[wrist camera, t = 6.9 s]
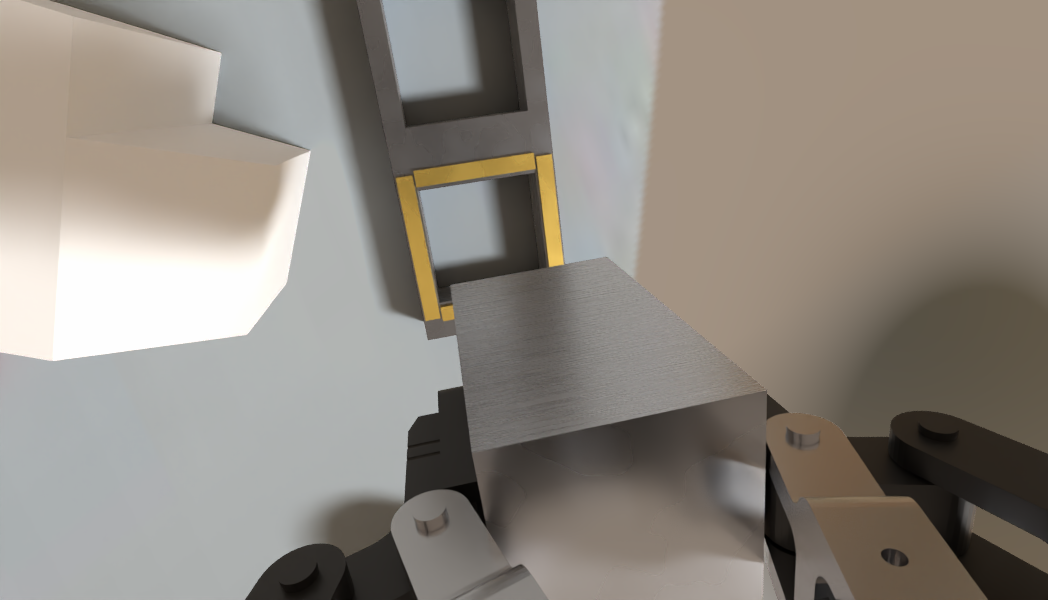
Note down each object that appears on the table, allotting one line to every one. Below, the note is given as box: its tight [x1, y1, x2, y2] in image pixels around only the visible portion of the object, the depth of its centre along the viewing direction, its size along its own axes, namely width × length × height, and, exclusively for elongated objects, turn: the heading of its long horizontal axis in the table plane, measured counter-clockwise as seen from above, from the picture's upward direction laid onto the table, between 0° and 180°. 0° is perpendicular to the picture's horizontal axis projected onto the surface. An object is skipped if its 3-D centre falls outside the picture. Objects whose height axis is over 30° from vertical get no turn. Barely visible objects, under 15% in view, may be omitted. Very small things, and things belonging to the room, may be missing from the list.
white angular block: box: [0, 0, 311, 361], centre depth 22 cm, size 11×11×12 cm
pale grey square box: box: [450, 257, 767, 600], centre depth 13 cm, size 4×4×8 cm
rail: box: [356, 0, 565, 340], centre depth 27 cm, size 28×8×3 cm, turn 7°
